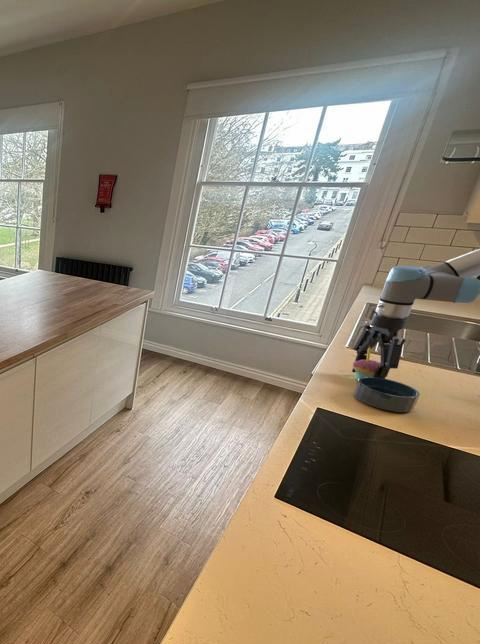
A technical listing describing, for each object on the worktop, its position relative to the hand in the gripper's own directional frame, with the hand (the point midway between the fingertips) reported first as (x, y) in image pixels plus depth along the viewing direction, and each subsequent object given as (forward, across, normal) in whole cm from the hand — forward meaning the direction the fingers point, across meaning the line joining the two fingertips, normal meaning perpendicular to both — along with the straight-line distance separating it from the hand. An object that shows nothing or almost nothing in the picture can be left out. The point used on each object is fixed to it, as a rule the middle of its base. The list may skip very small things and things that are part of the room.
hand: (366, 378), depth 135 cm
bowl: (+1, +15, -5) cm, 16 cm away
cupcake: (+1, 0, 0) cm, 1 cm away
